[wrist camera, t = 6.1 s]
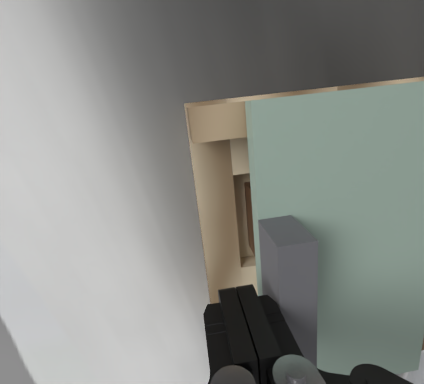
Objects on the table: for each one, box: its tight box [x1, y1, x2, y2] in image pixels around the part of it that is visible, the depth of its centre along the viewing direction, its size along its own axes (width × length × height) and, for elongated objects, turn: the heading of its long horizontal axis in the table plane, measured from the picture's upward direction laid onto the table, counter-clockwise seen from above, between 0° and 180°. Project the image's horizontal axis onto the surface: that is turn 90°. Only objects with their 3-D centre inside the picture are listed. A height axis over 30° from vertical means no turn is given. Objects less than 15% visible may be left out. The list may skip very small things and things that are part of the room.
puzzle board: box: [184, 77, 424, 350], centre depth 18 cm, size 24×16×7 cm
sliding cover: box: [245, 81, 424, 375], centre depth 13 cm, size 9×16×4 cm, turn 6°
